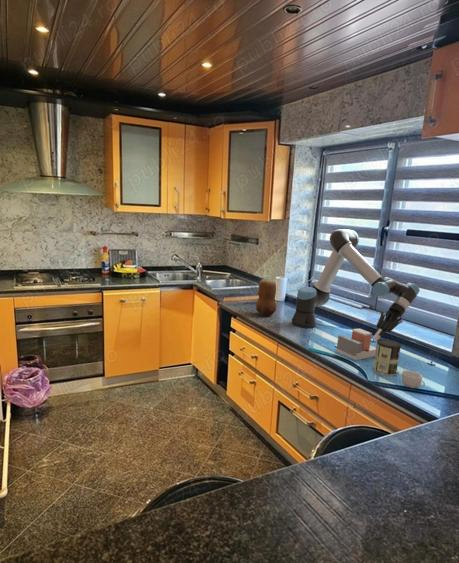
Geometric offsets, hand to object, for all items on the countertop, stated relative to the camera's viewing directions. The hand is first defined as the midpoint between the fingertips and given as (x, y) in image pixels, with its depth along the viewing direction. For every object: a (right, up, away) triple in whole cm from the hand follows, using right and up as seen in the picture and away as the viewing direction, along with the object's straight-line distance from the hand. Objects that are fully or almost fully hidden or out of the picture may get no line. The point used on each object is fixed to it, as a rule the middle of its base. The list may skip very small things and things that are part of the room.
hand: (374, 339), depth 201 cm
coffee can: (-6, -11, -26) cm, 29 cm away
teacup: (0, -14, -41) cm, 44 cm away
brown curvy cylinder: (-53, +8, +56) cm, 78 cm away
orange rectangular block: (-10, -4, -5) cm, 12 cm away
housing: (-9, -6, -4) cm, 12 cm away
